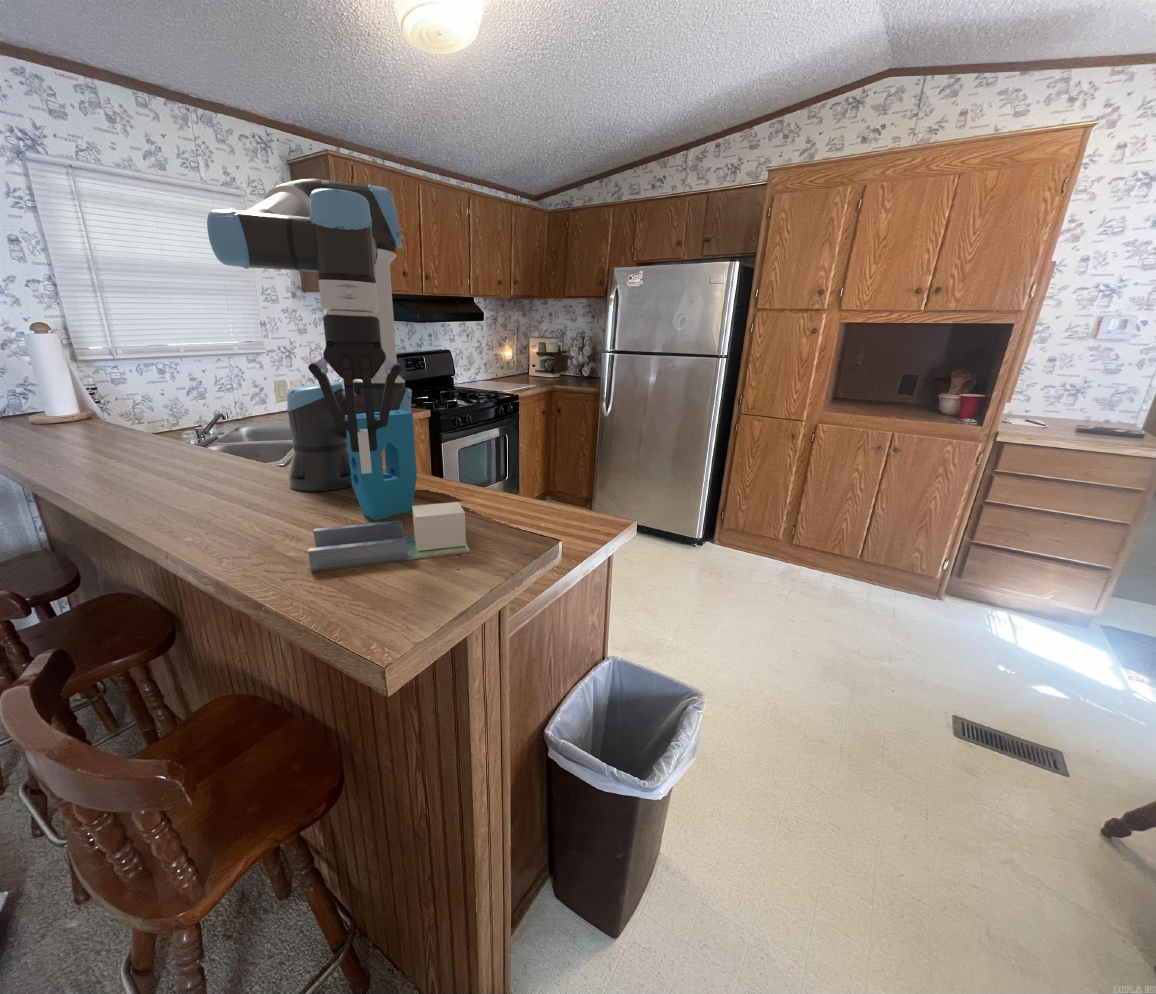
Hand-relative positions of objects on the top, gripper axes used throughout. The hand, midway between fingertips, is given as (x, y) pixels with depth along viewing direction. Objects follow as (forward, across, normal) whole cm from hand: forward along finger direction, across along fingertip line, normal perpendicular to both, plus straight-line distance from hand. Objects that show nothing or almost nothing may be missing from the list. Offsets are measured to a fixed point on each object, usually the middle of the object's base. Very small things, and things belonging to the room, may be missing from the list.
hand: (366, 470), depth 81 cm
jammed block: (+14, +11, -1) cm, 18 cm away
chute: (+14, +3, -1) cm, 14 cm away
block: (+15, +3, +19) cm, 24 cm away
